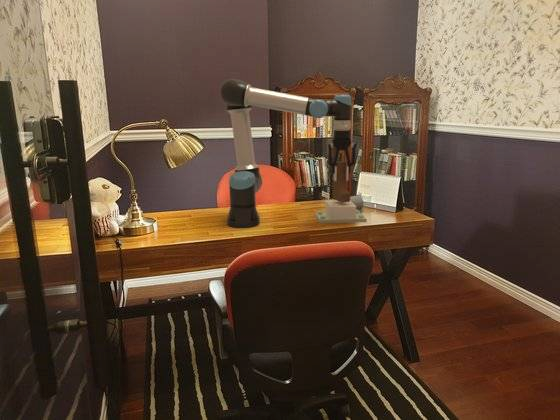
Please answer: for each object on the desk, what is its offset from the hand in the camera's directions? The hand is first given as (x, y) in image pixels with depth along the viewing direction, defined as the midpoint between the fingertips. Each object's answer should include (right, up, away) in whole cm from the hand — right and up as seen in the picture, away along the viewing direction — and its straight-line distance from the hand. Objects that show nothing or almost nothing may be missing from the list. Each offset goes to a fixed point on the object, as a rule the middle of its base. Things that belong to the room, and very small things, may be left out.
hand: (340, 180), depth 208 cm
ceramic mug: (+10, -15, +19) cm, 26 cm away
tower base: (0, -18, +5) cm, 19 cm away
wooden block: (0, -10, +3) cm, 10 cm away
